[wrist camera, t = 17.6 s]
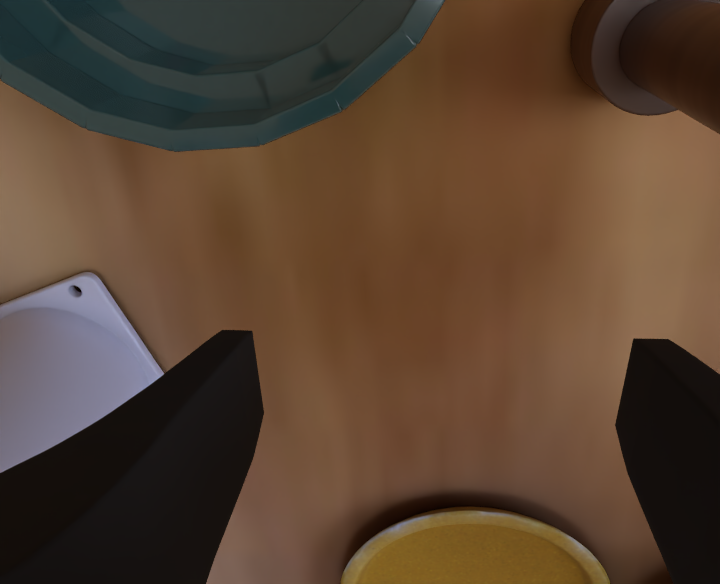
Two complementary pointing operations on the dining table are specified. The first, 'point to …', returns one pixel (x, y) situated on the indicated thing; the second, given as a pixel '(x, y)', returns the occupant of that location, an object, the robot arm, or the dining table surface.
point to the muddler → (652, 55)
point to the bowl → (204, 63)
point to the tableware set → (473, 551)
